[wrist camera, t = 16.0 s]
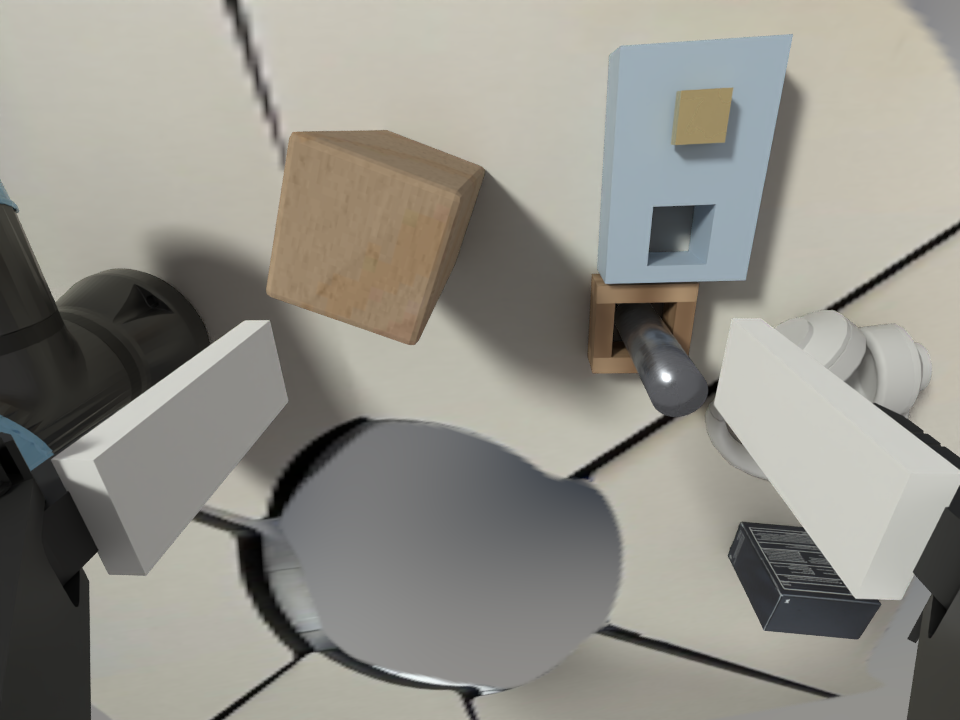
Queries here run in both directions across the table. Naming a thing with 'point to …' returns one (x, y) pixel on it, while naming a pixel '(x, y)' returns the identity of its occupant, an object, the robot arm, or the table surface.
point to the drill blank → (660, 360)
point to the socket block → (686, 156)
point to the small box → (795, 584)
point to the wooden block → (370, 228)
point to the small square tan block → (701, 116)
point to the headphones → (844, 370)
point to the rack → (604, 296)
